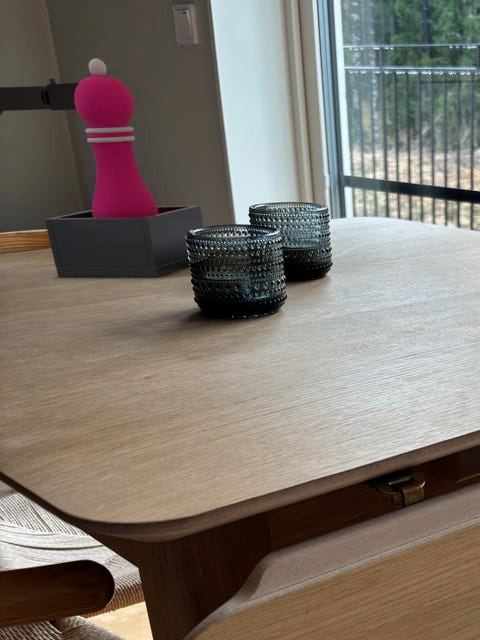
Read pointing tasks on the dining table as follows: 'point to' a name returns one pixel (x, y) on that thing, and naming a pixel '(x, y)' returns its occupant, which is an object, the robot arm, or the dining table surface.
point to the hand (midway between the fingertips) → (42, 96)
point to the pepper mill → (112, 146)
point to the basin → (122, 243)
